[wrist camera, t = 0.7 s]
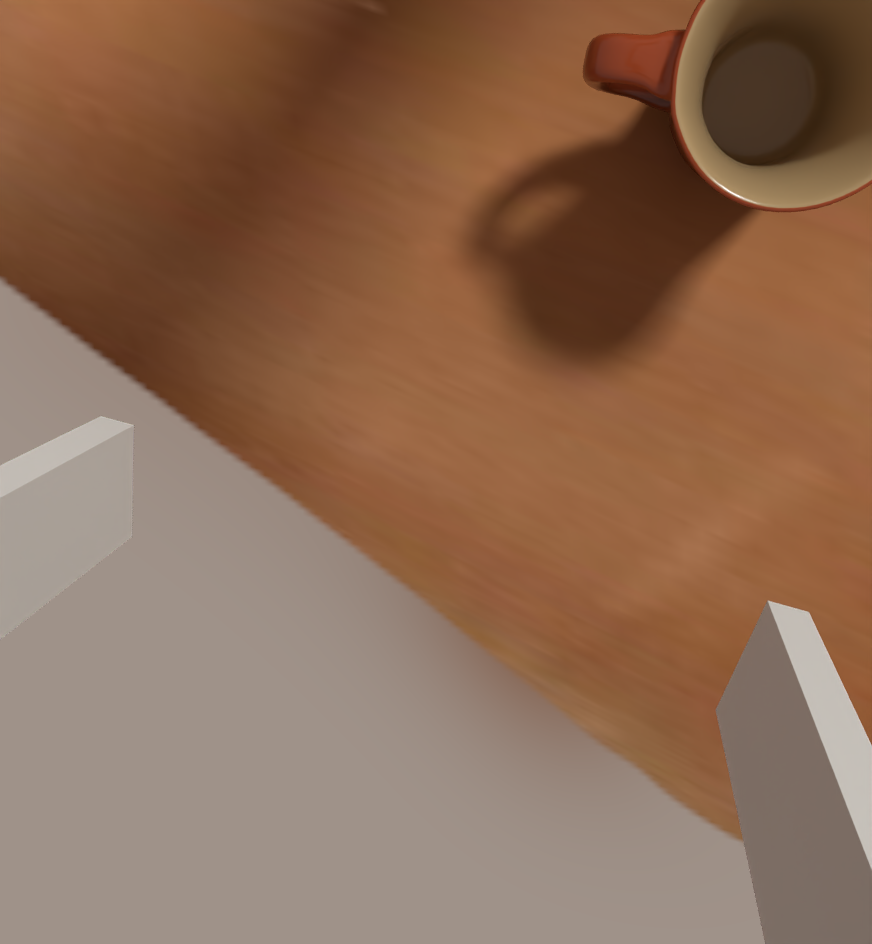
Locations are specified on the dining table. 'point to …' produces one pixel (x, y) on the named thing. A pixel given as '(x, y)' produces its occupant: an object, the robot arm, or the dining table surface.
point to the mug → (757, 96)
